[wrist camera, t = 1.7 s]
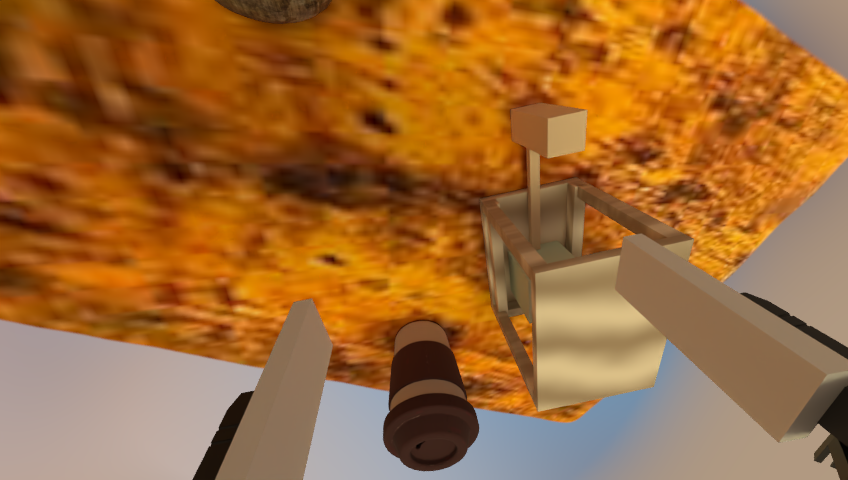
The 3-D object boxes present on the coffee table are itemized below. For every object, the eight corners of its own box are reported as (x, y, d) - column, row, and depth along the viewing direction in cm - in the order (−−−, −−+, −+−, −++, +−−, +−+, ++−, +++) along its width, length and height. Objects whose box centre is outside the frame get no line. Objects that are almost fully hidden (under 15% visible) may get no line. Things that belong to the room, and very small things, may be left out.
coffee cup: (467, 343, 44) (499, 455, 31) (410, 372, 46) (417, 490, 33) (432, 299, 40) (453, 409, 26) (371, 333, 41) (361, 452, 28)
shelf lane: (479, 198, 34) (535, 273, 21) (576, 177, 33) (694, 239, 20) (491, 306, 41) (537, 411, 28) (570, 289, 41) (653, 386, 28)
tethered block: (495, 112, 29) (528, 122, 22) (555, 99, 29) (607, 105, 22) (508, 285, 40) (533, 329, 33) (552, 275, 40) (587, 318, 33)
